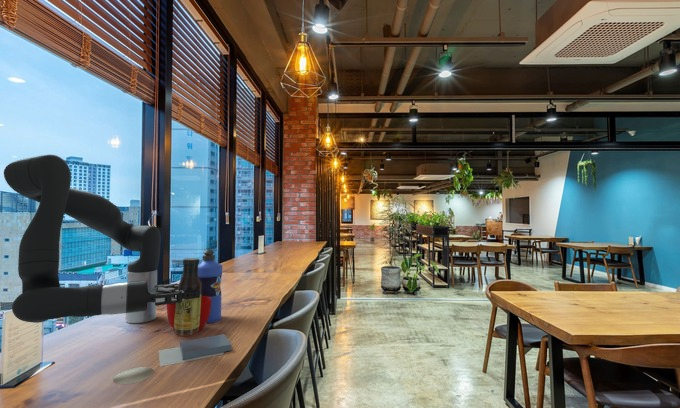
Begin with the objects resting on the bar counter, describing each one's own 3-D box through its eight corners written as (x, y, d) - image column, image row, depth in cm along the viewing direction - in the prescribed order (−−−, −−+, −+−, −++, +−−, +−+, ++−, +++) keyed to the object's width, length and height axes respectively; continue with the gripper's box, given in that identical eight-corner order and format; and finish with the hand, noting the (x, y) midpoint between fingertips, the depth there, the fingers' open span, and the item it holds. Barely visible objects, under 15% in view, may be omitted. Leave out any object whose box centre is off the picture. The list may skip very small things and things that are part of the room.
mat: (160, 368, 82) (160, 366, 82) (158, 352, 91) (158, 350, 91) (224, 355, 89) (224, 353, 89) (216, 341, 99) (216, 340, 99)
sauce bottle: (168, 335, 88) (170, 259, 89) (185, 328, 94) (188, 256, 95) (188, 338, 86) (191, 260, 87) (205, 330, 92) (207, 257, 93)
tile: (182, 353, 85) (231, 344, 91) (179, 341, 93) (224, 334, 99) (182, 360, 85) (231, 350, 91) (179, 348, 93) (224, 340, 99)
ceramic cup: (157, 346, 95) (158, 310, 95) (171, 327, 111) (171, 296, 111) (206, 342, 98) (207, 307, 99) (212, 324, 115) (213, 294, 115)
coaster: (105, 380, 75) (105, 378, 75) (141, 366, 82) (141, 364, 82) (125, 389, 71) (125, 387, 71) (161, 374, 78) (161, 372, 78)
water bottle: (226, 316, 124) (227, 248, 124) (214, 324, 114) (215, 250, 115) (201, 315, 125) (203, 247, 125) (188, 323, 115) (189, 250, 116)
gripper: (124, 287, 77) (202, 281, 85) (127, 277, 89) (195, 272, 98) (123, 320, 77) (201, 311, 85) (126, 305, 89) (194, 298, 97)
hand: (197, 290), depth 91 cm, fingers closed on sauce bottle, 6 cm apart
